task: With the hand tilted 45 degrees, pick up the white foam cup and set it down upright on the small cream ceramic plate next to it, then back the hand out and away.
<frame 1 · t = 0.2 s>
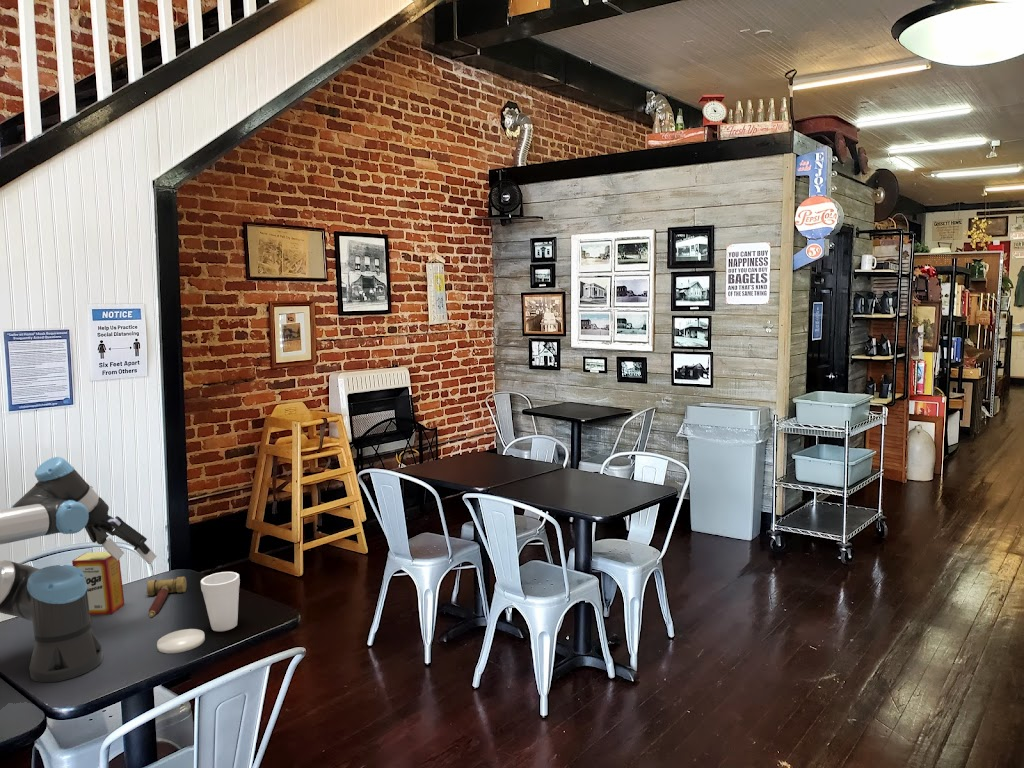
hand: (136, 558, 214), 15 cm above the table, tool tilted 35°, fingers open, 13 cm apart
baking soda box: (101, 610, 219), on the table
plate: (181, 643, 195), on the table
gavel: (160, 605, 222), on the table
foam cup: (224, 626, 204), on the table
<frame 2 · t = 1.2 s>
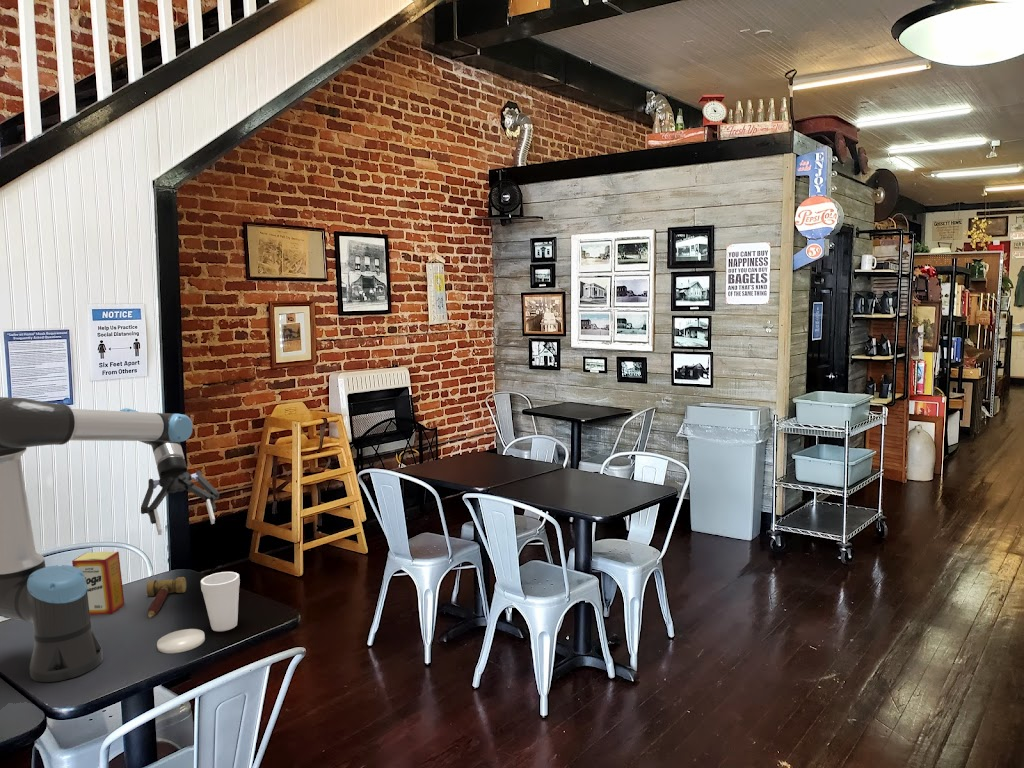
hand: (187, 527, 211), 24 cm above the table, tool tilted 45°, fingers open, 13 cm apart
nothing on the table moved.
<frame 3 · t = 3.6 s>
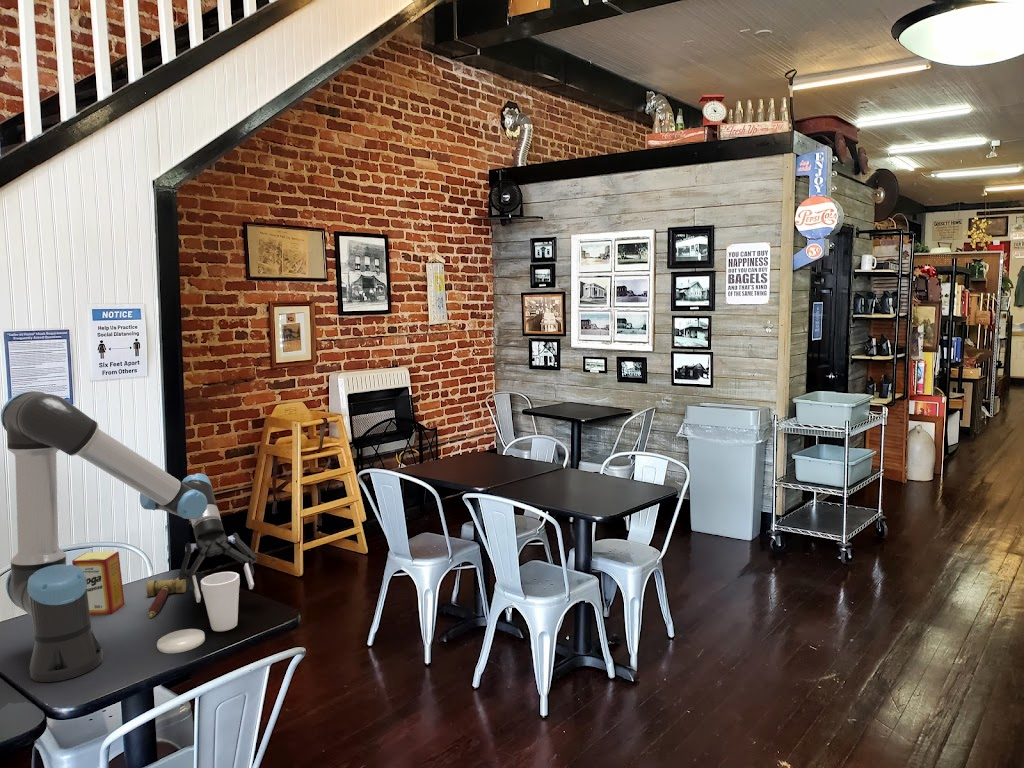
hand: (225, 593, 206), 8 cm above the table, tool tilted 45°, fingers open, 13 cm apart
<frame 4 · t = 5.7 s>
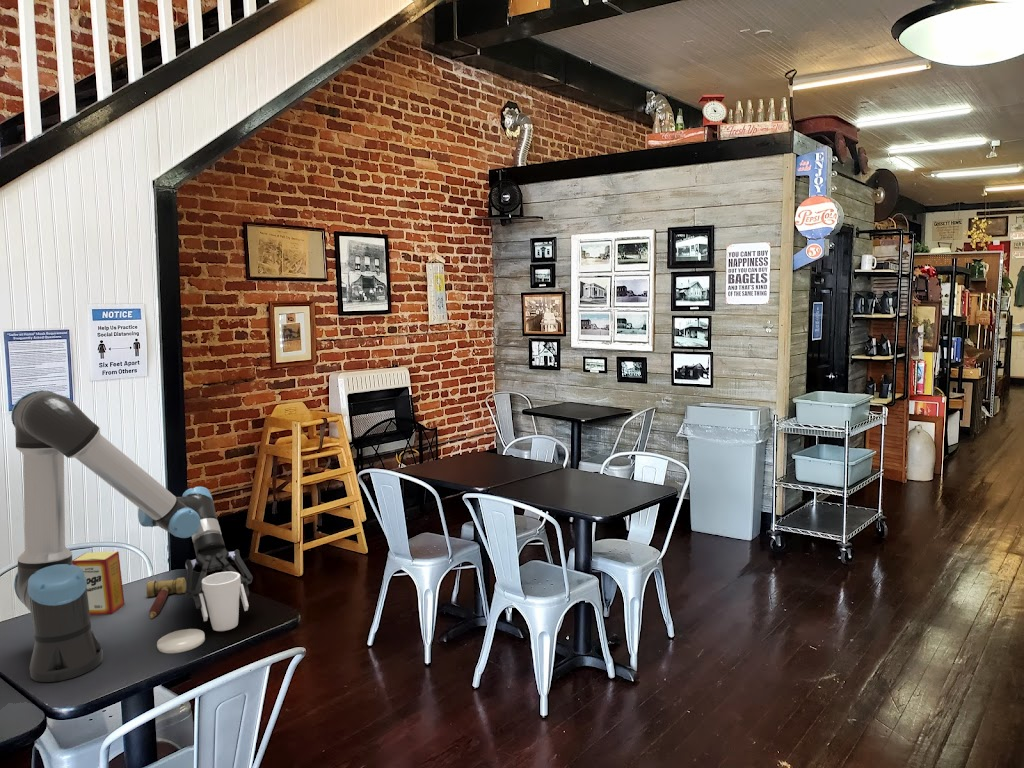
hand: (226, 613, 201), 4 cm above the table, tool tilted 45°, fingers closed on foam cup, 9 cm apart
foam cup: (225, 626, 204), on the table, touching gripper
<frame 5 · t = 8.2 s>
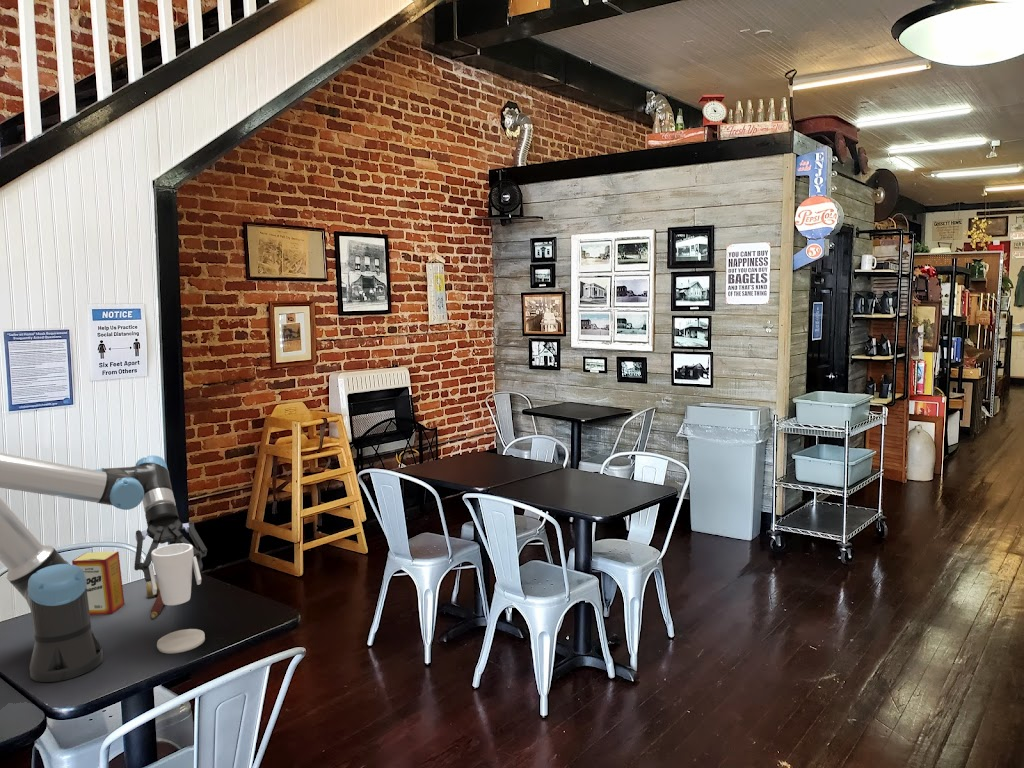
hand: (177, 586, 191), 16 cm above the table, tool tilted 45°, fingers closed on foam cup, 9 cm apart
foam cup: (176, 601, 194), point 11 cm above the table, touching gripper
when the fingers open (7 cm above the table, at t = 10.7 s): foam cup drops 1 cm, resting on plate.
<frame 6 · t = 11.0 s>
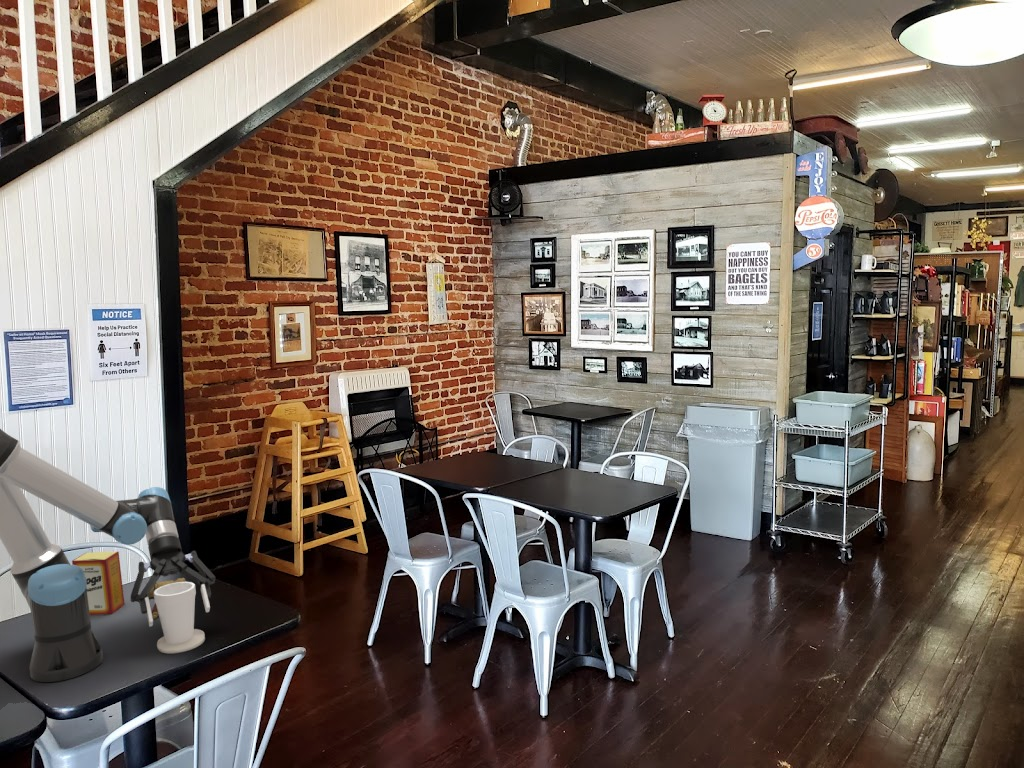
hand: (180, 616, 192), 8 cm above the table, tool tilted 45°, fingers open, 12 cm apart
foam cup: (179, 639, 195), point 1 cm above the table, touching plate
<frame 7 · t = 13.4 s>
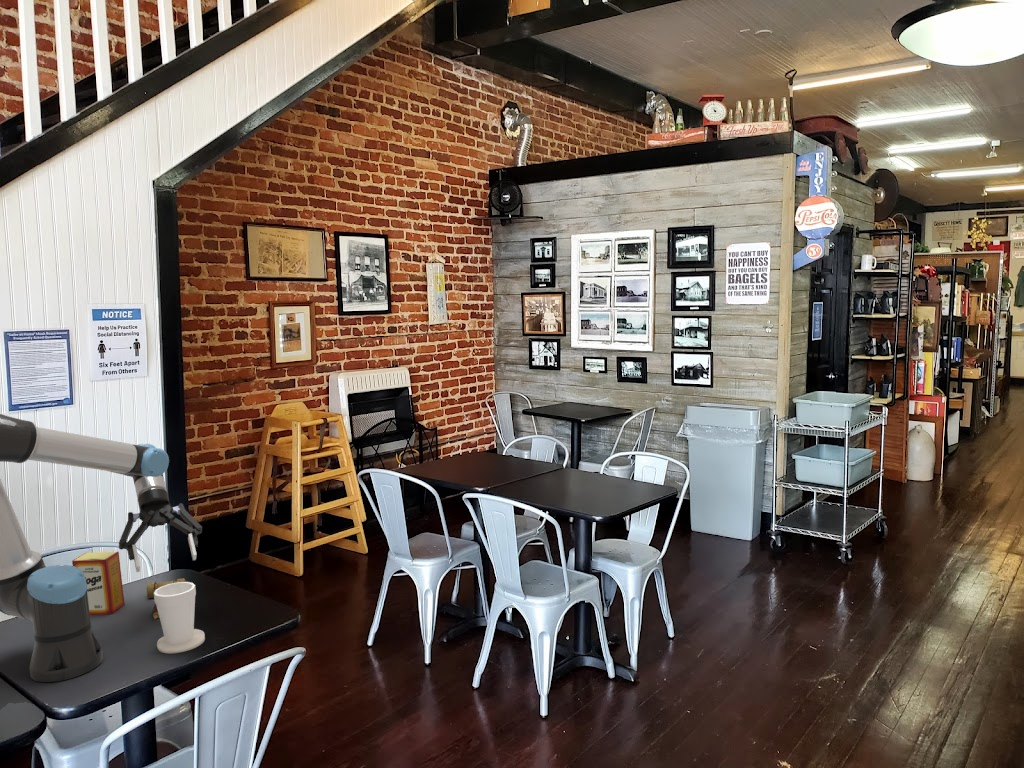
hand: (167, 563, 202), 18 cm above the table, tool tilted 45°, fingers open, 13 cm apart
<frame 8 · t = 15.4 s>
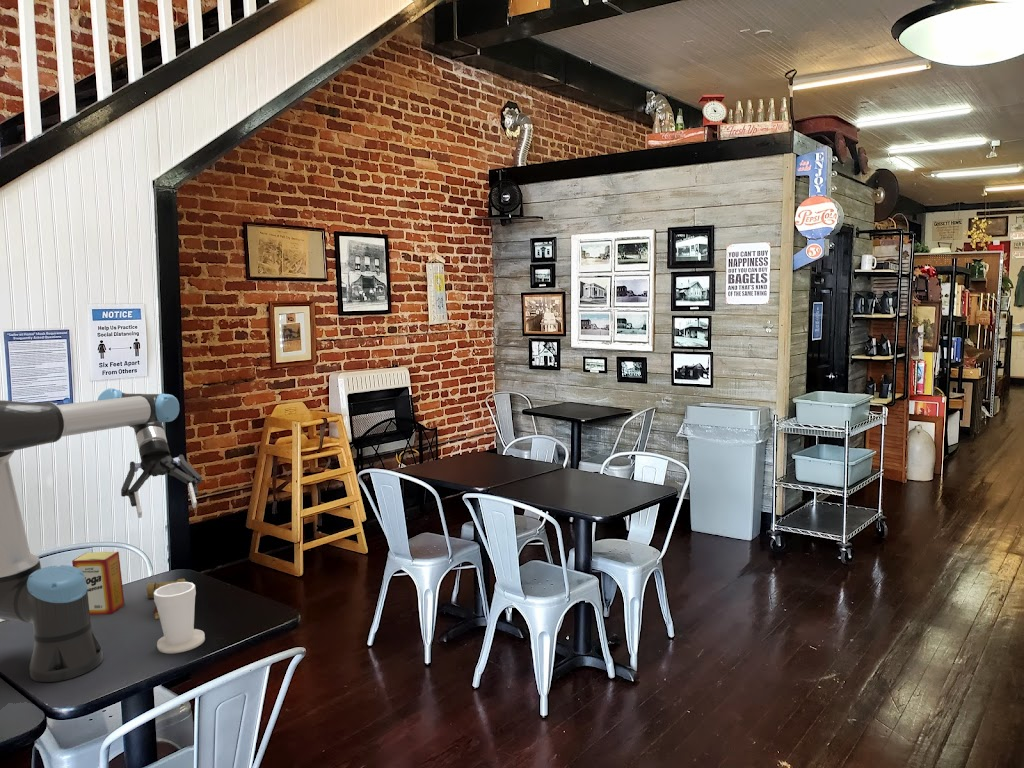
hand: (168, 510, 208), 30 cm above the table, tool tilted 45°, fingers open, 13 cm apart
at the end: foam cup 0.3 cm off-centre on the plate, point 1.0 cm above the plate's base; foam cup tilted 0°; the gripper is holding nothing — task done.
